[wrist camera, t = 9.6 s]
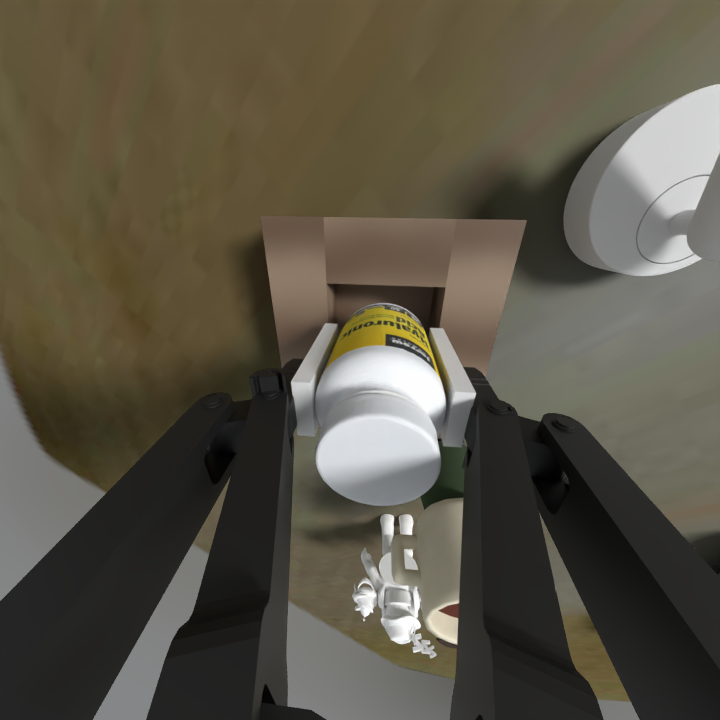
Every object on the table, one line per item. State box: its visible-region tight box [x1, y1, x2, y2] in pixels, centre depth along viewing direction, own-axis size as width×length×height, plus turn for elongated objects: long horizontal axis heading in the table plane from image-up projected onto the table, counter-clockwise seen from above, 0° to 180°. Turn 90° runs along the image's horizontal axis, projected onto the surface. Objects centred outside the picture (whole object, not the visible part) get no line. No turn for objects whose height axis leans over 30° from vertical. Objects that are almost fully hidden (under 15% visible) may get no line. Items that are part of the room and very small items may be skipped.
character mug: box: [391, 441, 556, 645], centre depth 22 cm, size 11×7×13 cm, turn 92°
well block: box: [260, 216, 527, 376], centre depth 19 cm, size 14×14×4 cm
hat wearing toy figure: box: [352, 514, 436, 658], centre depth 28 cm, size 9×4×12 cm, turn 93°
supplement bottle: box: [315, 303, 446, 506], centre depth 13 cm, size 5×5×10 cm
